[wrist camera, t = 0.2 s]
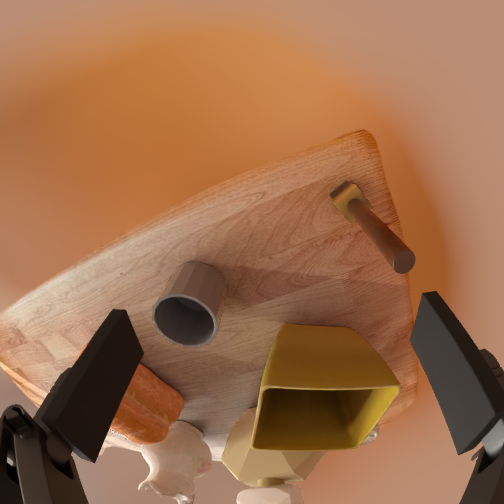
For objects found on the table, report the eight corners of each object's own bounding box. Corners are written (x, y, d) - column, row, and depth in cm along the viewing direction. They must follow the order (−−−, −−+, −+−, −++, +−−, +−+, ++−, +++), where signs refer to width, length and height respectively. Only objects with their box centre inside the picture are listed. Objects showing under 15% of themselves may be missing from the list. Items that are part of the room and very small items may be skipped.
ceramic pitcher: (233, 442, 69) (229, 514, 46) (184, 452, 74) (174, 514, 50) (184, 406, 63) (167, 490, 40) (136, 419, 67) (115, 488, 44)
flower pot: (265, 304, 46) (260, 386, 30) (374, 312, 45) (405, 385, 30) (255, 378, 54) (249, 449, 39) (345, 382, 53) (357, 448, 38)
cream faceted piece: (217, 407, 60) (197, 512, 34) (313, 381, 53) (323, 506, 28) (243, 429, 64) (232, 523, 38) (331, 407, 57) (342, 513, 32)
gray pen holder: (164, 263, 44) (143, 294, 35) (222, 259, 43) (210, 292, 34) (178, 311, 47) (162, 346, 39) (231, 310, 46) (223, 347, 38)
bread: (159, 409, 63) (144, 456, 49) (80, 346, 55) (50, 391, 41) (193, 398, 59) (179, 452, 45) (105, 325, 51) (70, 377, 37)
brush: (327, 194, 37) (375, 260, 19) (346, 178, 36) (412, 231, 18) (342, 213, 38) (396, 291, 20) (361, 197, 37) (430, 263, 19)
